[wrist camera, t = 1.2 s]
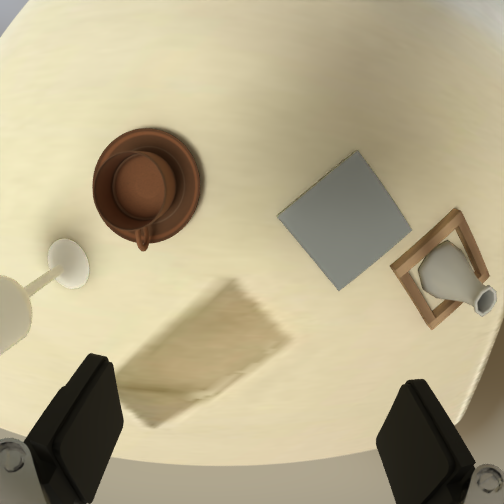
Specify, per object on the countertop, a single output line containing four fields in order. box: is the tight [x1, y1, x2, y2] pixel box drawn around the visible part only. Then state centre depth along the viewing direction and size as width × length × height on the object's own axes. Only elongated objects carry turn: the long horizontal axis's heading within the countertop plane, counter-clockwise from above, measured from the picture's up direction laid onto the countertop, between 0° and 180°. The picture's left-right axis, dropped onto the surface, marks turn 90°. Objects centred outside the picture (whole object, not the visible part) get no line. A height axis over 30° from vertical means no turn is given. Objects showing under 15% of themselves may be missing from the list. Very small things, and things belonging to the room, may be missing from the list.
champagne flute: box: [0, 239, 89, 355], centre depth 24 cm, size 7×7×24 cm
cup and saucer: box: [93, 128, 200, 251], centre depth 30 cm, size 12×12×6 cm
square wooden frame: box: [390, 209, 490, 330], centre depth 34 cm, size 11×11×2 cm
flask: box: [418, 240, 497, 317], centre depth 30 cm, size 7×7×10 cm
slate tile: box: [277, 150, 412, 291], centre depth 33 cm, size 11×11×1 cm
